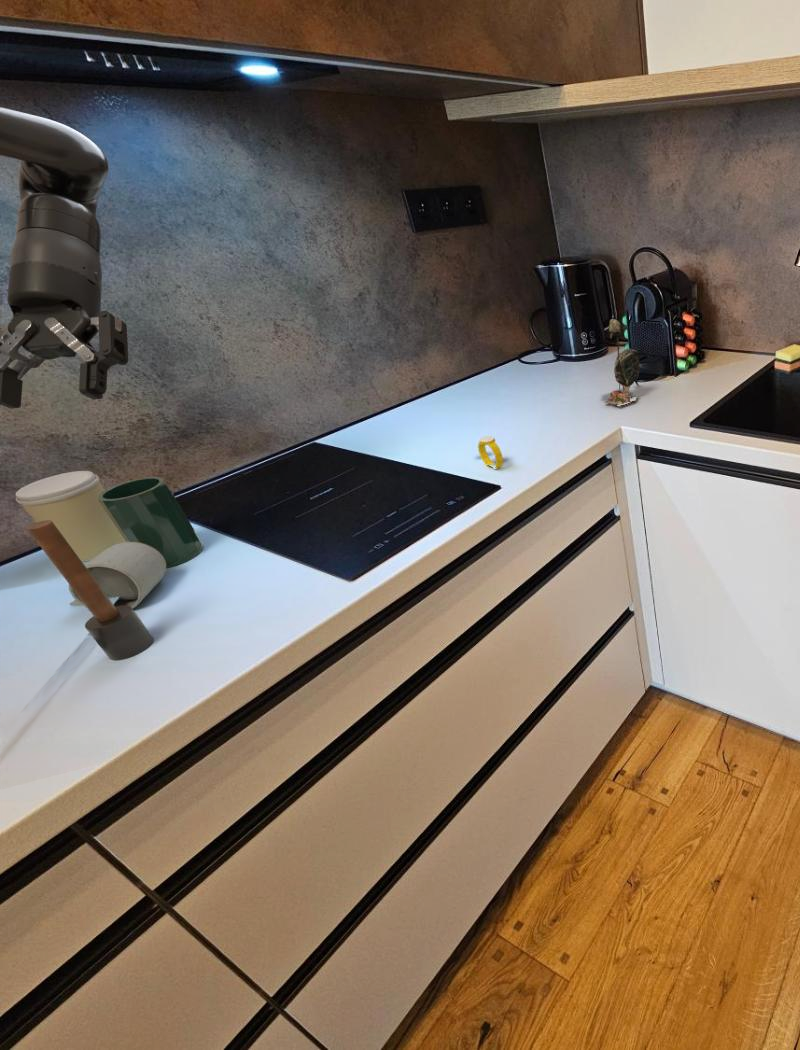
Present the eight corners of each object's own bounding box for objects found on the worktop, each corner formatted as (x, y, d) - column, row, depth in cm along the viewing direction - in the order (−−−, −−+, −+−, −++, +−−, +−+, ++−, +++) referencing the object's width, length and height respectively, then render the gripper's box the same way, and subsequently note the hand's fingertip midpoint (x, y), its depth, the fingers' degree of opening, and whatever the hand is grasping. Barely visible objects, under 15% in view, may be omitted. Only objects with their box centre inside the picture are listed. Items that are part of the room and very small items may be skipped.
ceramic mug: (181, 574, 87) (152, 530, 83) (153, 607, 80) (120, 560, 76) (98, 590, 85) (64, 546, 81) (62, 625, 78) (23, 579, 74)
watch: (479, 466, 114) (471, 437, 111) (491, 461, 116) (483, 432, 113) (496, 473, 111) (489, 444, 108) (509, 468, 113) (501, 439, 110)
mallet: (101, 664, 71) (0, 538, 61) (119, 641, 74) (27, 519, 65) (144, 654, 72) (51, 529, 62) (160, 632, 75) (75, 511, 66)
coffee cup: (136, 527, 101) (95, 464, 94) (139, 547, 94) (95, 481, 88) (64, 550, 95) (15, 484, 89) (61, 572, 89) (9, 504, 83)
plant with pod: (653, 397, 144) (644, 313, 133) (616, 410, 137) (604, 322, 127) (633, 391, 149) (623, 309, 138) (596, 403, 142) (583, 318, 132)
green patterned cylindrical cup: (134, 575, 88) (86, 505, 81) (156, 549, 94) (113, 482, 88) (193, 563, 89) (150, 494, 83) (211, 538, 96) (172, 473, 89)
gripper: (-45, 264, 67) (-59, 394, 63) (95, 253, 69) (89, 377, 65) (22, 304, 74) (13, 422, 70) (147, 293, 76) (144, 407, 72)
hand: (49, 401), depth 68 cm, fingers open, 8 cm apart
